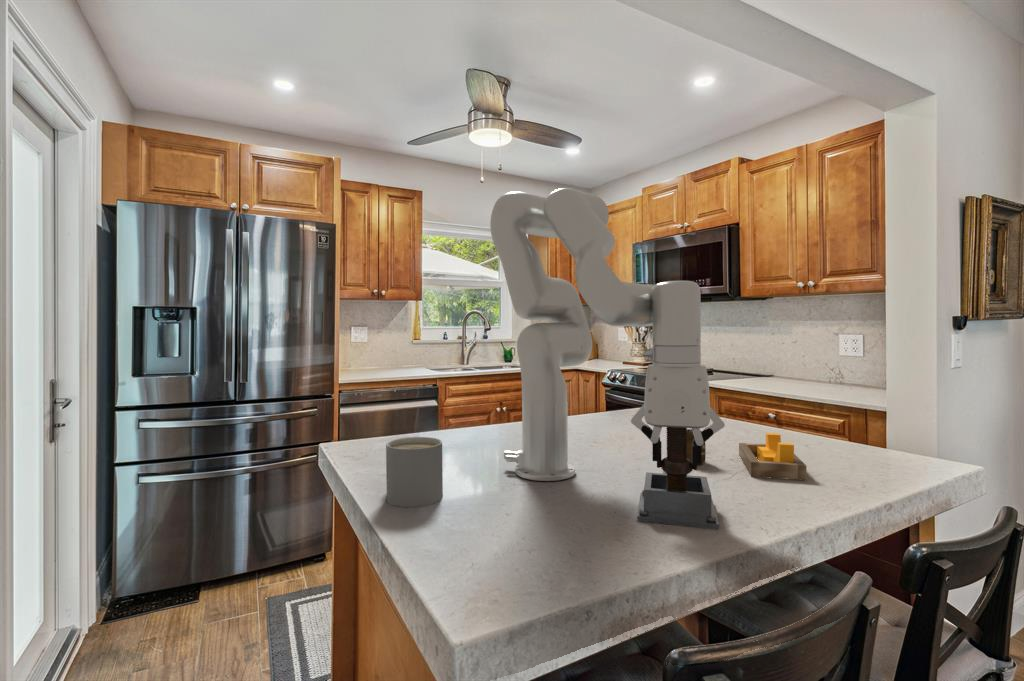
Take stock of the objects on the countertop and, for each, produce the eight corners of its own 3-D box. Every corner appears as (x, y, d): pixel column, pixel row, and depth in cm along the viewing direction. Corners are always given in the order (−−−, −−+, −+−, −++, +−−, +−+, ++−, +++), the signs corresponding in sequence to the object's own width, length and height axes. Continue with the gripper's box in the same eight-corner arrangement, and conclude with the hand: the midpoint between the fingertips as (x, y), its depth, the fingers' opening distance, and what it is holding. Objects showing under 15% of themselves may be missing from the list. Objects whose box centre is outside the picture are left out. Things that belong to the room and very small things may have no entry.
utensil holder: (673, 462, 114) (673, 409, 114) (684, 457, 119) (684, 406, 119) (699, 467, 110) (700, 412, 110) (709, 461, 115) (709, 408, 115)
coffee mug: (449, 502, 89) (449, 445, 89) (393, 510, 85) (392, 451, 85) (429, 481, 101) (428, 431, 101) (378, 488, 97) (377, 436, 97)
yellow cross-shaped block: (757, 460, 116) (757, 432, 116) (778, 461, 115) (778, 433, 115) (770, 475, 105) (770, 444, 105) (793, 476, 104) (794, 445, 103)
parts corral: (751, 476, 103) (751, 462, 103) (738, 455, 120) (738, 442, 120) (806, 480, 100) (806, 465, 100) (785, 458, 117) (785, 445, 117)
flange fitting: (637, 521, 79) (637, 490, 79) (642, 486, 97) (642, 461, 97) (719, 529, 76) (719, 497, 76) (708, 491, 94) (709, 465, 94)
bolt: (655, 487, 86) (655, 399, 86) (683, 486, 86) (683, 399, 86) (668, 499, 80) (668, 404, 80) (699, 497, 81) (699, 404, 80)
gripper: (621, 357, 82) (622, 469, 82) (735, 358, 77) (735, 477, 77) (625, 355, 89) (625, 458, 89) (729, 355, 84) (729, 464, 84)
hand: (676, 465), depth 83 cm, fingers closed on bolt, 4 cm apart
